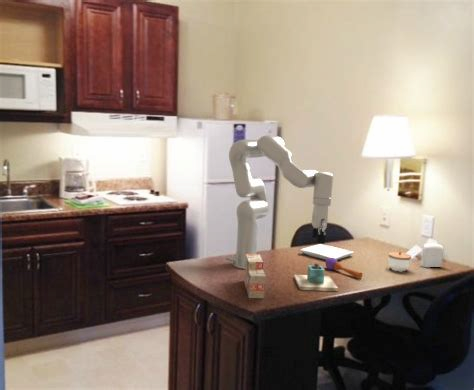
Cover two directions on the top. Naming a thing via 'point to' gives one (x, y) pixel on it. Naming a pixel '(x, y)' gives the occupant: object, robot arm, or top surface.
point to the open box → (315, 274)
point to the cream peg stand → (305, 284)
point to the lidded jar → (399, 261)
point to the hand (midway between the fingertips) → (318, 240)
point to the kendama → (341, 268)
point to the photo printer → (432, 255)
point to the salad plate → (326, 252)
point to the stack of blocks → (254, 276)
